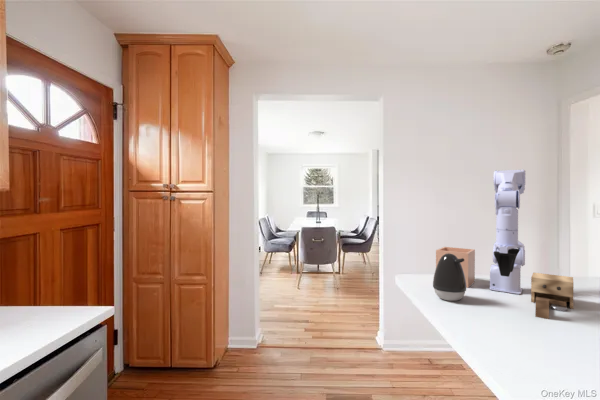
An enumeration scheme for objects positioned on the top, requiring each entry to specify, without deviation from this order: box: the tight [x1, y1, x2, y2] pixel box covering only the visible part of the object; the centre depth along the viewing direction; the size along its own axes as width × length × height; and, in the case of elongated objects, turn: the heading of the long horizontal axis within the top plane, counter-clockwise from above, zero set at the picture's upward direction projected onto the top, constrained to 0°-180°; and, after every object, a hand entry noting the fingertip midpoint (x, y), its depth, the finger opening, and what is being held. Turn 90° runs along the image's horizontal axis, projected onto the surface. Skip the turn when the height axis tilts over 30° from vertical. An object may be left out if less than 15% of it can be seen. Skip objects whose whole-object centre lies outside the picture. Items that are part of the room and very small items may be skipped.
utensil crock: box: [435, 246, 476, 289], centre depth 131 cm, size 12×12×13 cm
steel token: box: [549, 304, 568, 313], centre depth 100 cm, size 4×4×1 cm
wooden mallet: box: [534, 297, 567, 320], centre depth 97 cm, size 7×16×5 cm, turn 142°
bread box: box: [530, 272, 574, 310], centre depth 106 cm, size 10×10×8 cm
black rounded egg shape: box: [432, 253, 467, 302], centre depth 110 cm, size 10×10×15 cm
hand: (506, 273), depth 101 cm, fingers open, 7 cm apart
